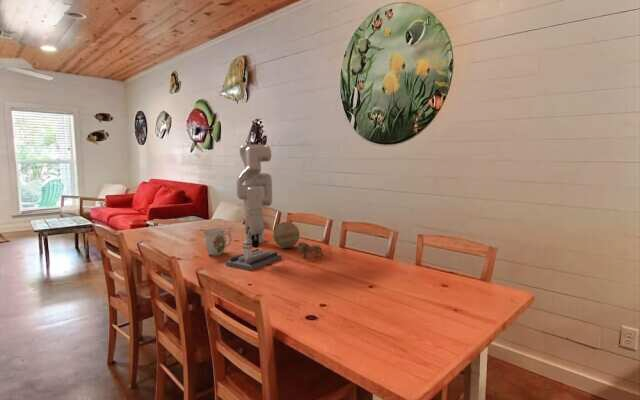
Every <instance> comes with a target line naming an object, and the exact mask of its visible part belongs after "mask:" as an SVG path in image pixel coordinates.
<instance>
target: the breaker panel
mask: <svg viewBox="0 0 640 400" xmlns="http://www.w3.org/2000/svg"><path fill="white" fill-rule="evenodd" d="M282 258H283V257H282V254H279V253H278V252H277V251H275V252H271V251H270V250H266V251H264V249H259V248H255V249H254V250H253V249H252V257H249V258H246V259H245V260H244V259H243V253H242V254H239V255H236V256H233V257H230V259H229V260H227V261H225V266H226V267H230V268H231V267H233V268H237V269H241V270H246V271H253V270H255V269H256V270H257V269H258V268H260V267H263V266H266V265H268V264H271V263H273V262H275V261H278V259H279V260H281V259H282Z"/></svg>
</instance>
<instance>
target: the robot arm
mask: <svg viewBox="0 0 640 400" xmlns="http://www.w3.org/2000/svg"><path fill="white" fill-rule="evenodd" d="M239 155H240V158H241V161H242V163H243V166H244V170H243V171H242V172H241V173H240V174H239V176H238V177H237V181H236V194H237V197H238V199H239V200H241V201H243V207H244V234H245V239H243V240H242V243H243V244H245V245H251V246H252V248H255V249H259V248H260V245H261V244H263V243H264V242H265V240H264V239H263V238H265V237H266V234H265V233H264V231H265V219H264V213H263V208H264V207H270V206H271V205H272V204H273V179H272V176H271V174H270V173H268V172H262V166H261V165H262V163H263V162H270V161H271V159H272V150H271V147H270V146H269V145H268V144H243V145H241V146H240V147H239ZM261 162H262V163H261ZM261 172H262V173H261ZM243 183H245V184H243Z"/></svg>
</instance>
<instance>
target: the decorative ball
mask: <svg viewBox="0 0 640 400" xmlns="http://www.w3.org/2000/svg"><path fill="white" fill-rule="evenodd" d="M299 239H300V231H299V228H298V226H297V225H296V224H294V223H292V222H289V221H285V222H281V223H279V224H278V225H277V226H276V227H275V229H274V231H273V240H274V242H275V243H276V244H277V245H278V247H280V248H283V249H289V248H292V247H295V245H297V244H298V243H299Z"/></svg>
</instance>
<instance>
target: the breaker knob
mask: <svg viewBox="0 0 640 400" xmlns="http://www.w3.org/2000/svg"><path fill="white" fill-rule="evenodd" d="M242 249H243V250H242V251H243V252H242V254H243V259H244V260H245V259H246V258H249V257H252V251H253V247H252V245H250V244H246V245H243V246H242Z"/></svg>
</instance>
